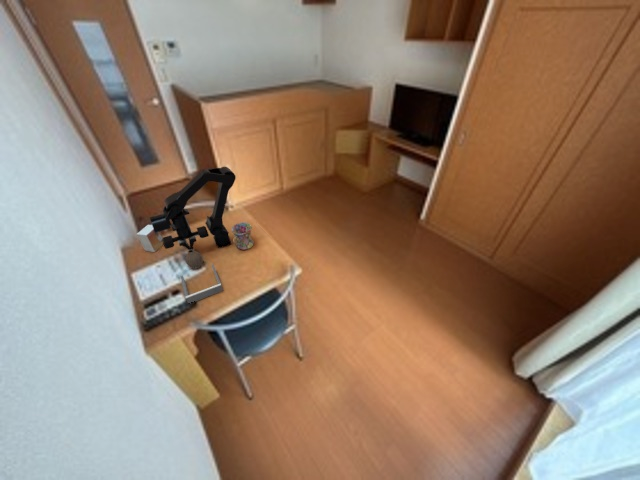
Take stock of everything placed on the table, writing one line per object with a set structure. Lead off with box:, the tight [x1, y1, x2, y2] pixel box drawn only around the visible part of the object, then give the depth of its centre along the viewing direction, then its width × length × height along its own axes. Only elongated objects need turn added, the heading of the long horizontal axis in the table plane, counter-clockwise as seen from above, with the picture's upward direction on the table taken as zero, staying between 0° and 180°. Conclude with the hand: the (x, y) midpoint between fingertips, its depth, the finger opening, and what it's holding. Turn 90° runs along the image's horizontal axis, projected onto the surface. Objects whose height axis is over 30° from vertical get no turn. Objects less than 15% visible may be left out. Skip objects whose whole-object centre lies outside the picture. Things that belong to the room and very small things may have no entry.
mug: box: [231, 222, 255, 251], centre depth 129 cm, size 12×9×11 cm
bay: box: [180, 264, 224, 304], centre depth 111 cm, size 14×14×4 cm
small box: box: [136, 224, 164, 253], centre depth 129 cm, size 8×6×10 cm
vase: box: [185, 249, 204, 270], centre depth 119 cm, size 7×7×9 cm
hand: (191, 250), depth 127 cm, fingers closed
